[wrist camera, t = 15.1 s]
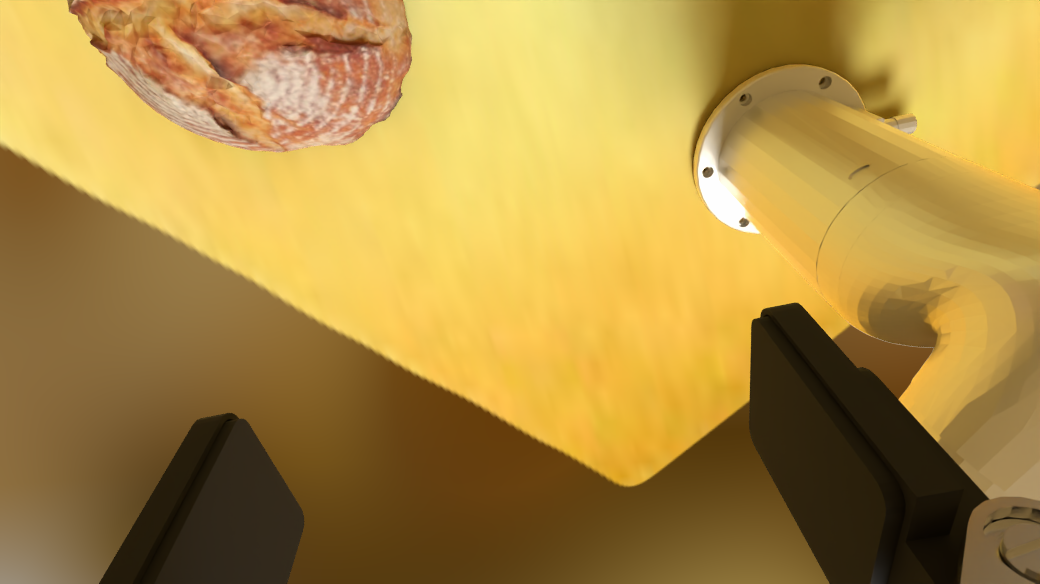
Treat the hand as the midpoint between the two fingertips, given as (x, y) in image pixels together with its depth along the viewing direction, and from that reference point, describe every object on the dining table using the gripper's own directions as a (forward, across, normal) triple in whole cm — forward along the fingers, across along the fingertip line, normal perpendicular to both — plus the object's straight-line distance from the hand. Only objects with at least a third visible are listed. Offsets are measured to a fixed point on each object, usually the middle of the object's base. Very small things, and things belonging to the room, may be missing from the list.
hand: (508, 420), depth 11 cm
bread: (+34, +13, -6) cm, 37 cm away
